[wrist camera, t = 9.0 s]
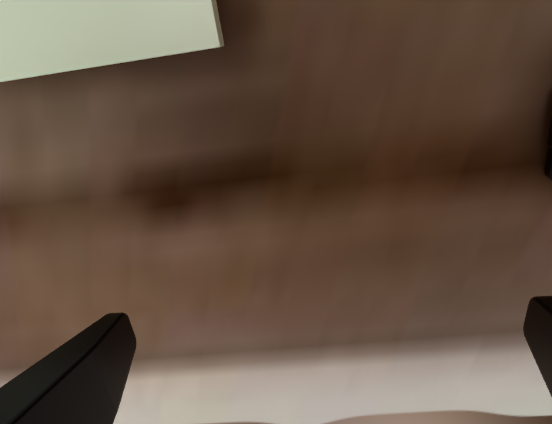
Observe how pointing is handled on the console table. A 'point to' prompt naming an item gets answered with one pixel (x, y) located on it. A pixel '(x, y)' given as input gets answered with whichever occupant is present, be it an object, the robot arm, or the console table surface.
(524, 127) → the console table surface
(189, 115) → the console table surface
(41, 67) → the cover sheet
